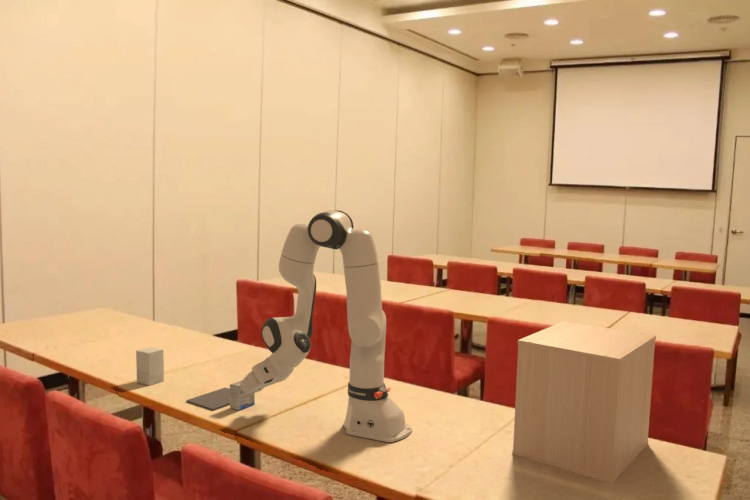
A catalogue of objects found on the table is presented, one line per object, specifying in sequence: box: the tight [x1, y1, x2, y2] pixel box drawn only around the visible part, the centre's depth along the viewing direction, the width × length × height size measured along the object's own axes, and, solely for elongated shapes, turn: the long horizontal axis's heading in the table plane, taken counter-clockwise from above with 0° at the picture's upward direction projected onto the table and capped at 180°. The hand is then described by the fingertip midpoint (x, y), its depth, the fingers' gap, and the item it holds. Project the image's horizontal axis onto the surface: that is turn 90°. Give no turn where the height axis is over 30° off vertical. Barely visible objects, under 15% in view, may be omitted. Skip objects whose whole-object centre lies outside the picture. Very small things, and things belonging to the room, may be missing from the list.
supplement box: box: [135, 346, 165, 386], centre depth 248 cm, size 7×7×13 cm
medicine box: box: [229, 380, 256, 411], centre depth 224 cm, size 8×4×9 cm, turn 148°
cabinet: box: [511, 320, 657, 485], centre depth 194 cm, size 35×29×34 cm
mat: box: [186, 386, 230, 412], centre depth 231 cm, size 14×18×1 cm
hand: (255, 390), depth 220 cm, fingers closed
